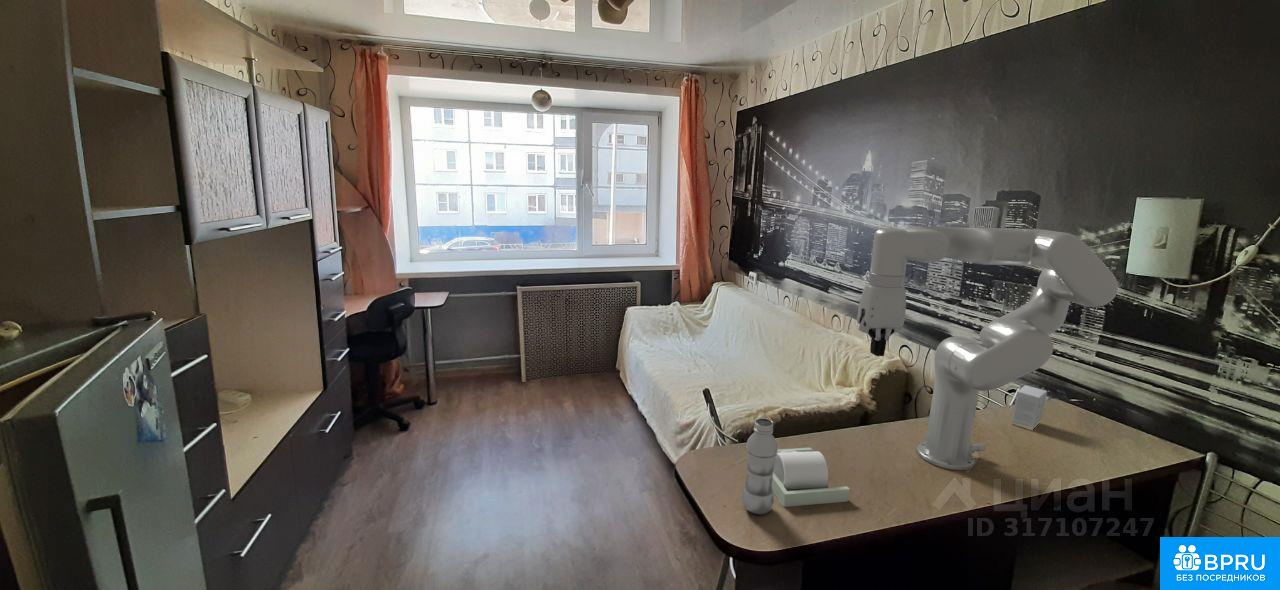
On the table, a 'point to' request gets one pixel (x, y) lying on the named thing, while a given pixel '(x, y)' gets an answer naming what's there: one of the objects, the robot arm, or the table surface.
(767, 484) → the plastic bottle
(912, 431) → the table surface
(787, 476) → the mug
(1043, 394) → the small box
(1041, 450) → the table surface
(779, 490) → the green u-shaped bracket
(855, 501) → the table surface
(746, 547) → the table surface
